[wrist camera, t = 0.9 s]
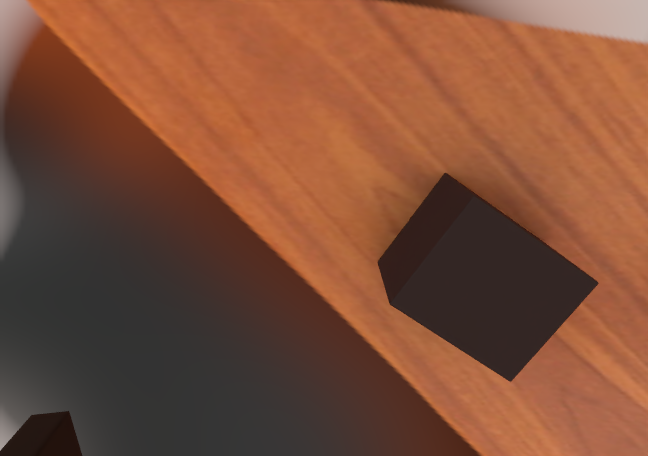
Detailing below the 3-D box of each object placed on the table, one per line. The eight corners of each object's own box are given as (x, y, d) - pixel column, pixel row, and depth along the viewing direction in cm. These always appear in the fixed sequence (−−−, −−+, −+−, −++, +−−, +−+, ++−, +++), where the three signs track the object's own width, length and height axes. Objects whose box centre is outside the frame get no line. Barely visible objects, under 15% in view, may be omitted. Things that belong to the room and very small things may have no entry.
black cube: (444, 172, 27) (474, 194, 21) (547, 244, 28) (599, 283, 22) (377, 262, 28) (389, 304, 23) (477, 327, 29) (510, 382, 24)
